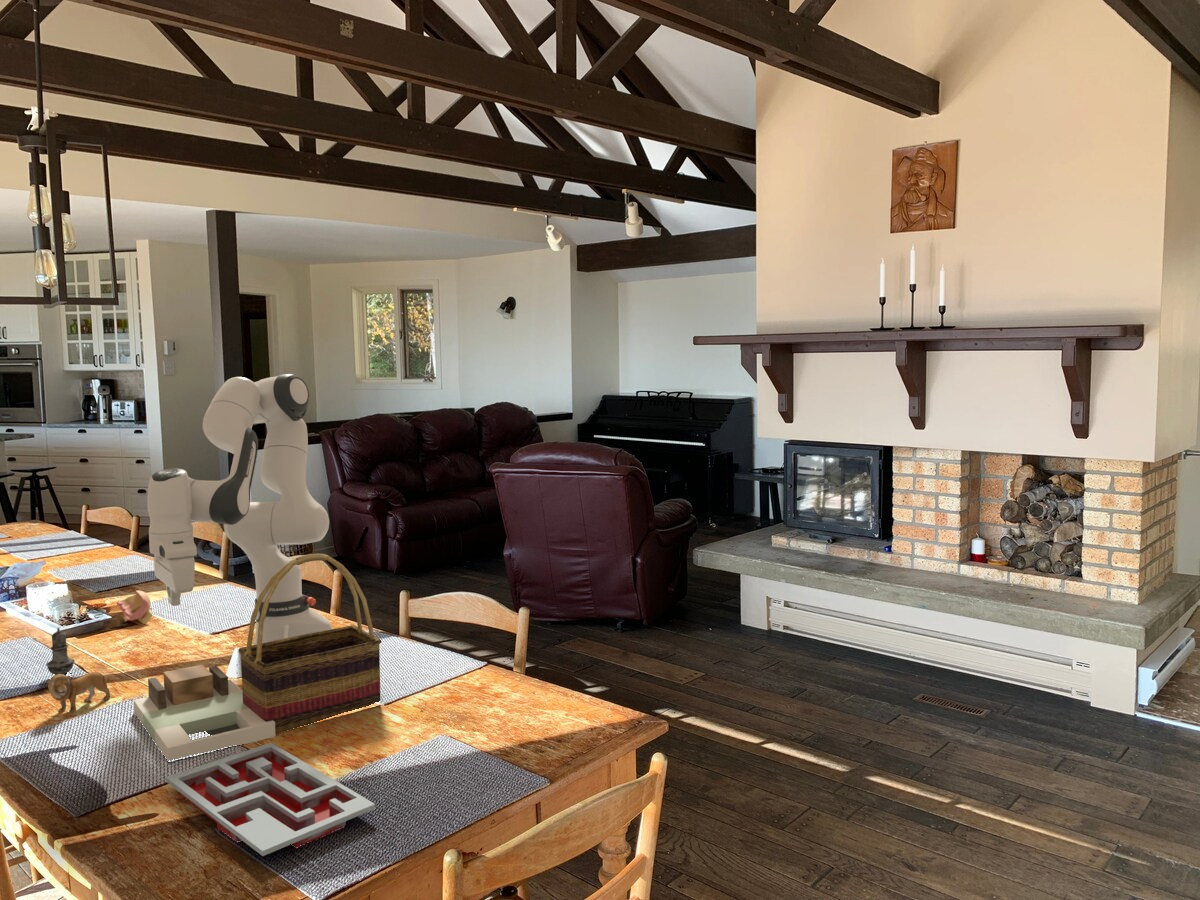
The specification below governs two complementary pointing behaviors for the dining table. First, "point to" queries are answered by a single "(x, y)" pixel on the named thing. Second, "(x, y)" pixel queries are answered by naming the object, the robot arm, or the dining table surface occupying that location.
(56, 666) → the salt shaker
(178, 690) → the tan square block
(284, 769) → the maze game
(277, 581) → the basket
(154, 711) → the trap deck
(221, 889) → the dining table surface
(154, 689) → the dark brown bars
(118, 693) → the dining table surface
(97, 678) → the lion figurine
